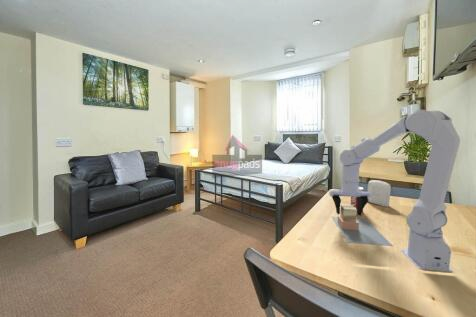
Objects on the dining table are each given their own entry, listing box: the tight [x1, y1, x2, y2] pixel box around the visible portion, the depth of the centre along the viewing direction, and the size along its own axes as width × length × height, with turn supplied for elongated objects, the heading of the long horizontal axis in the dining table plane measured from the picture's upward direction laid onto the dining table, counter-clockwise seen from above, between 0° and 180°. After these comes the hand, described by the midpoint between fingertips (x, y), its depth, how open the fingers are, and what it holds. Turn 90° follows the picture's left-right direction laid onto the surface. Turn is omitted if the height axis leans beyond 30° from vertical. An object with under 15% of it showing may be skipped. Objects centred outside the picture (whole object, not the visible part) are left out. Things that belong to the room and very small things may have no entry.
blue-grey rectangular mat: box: [331, 216, 393, 247], centre depth 81 cm, size 22×14×1 cm, turn 169°
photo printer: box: [367, 179, 392, 208], centre depth 109 cm, size 10×4×12 cm, turn 28°
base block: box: [337, 215, 359, 230], centre depth 83 cm, size 6×6×3 cm
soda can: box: [350, 186, 365, 214], centre depth 98 cm, size 5×5×12 cm
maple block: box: [339, 204, 358, 222], centre depth 83 cm, size 4×4×5 cm
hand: (348, 214), depth 83 cm, fingers open, 7 cm apart
